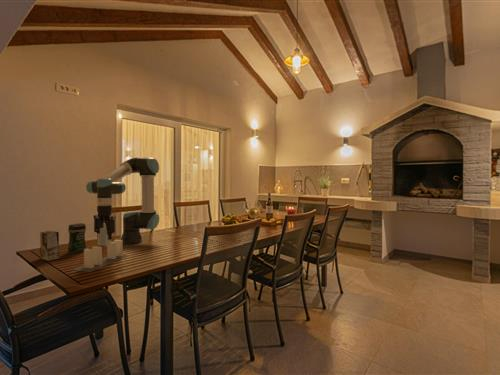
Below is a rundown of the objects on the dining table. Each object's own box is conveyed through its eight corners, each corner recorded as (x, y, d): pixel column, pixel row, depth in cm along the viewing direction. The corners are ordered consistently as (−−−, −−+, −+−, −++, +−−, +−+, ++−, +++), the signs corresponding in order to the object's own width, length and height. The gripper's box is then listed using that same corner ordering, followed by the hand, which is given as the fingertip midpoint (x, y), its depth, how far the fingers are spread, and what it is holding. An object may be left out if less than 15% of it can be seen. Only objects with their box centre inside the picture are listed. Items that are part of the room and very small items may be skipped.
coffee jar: (72, 254, 168) (72, 225, 167) (66, 252, 172) (65, 224, 171) (88, 250, 176) (88, 223, 175) (81, 248, 180) (81, 222, 179)
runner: (113, 254, 168) (113, 253, 168) (129, 256, 166) (129, 255, 165) (71, 270, 139) (71, 269, 139) (89, 272, 136) (89, 272, 136)
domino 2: (94, 263, 150) (94, 246, 149) (102, 264, 149) (101, 246, 148) (92, 264, 148) (92, 246, 148) (99, 265, 147) (99, 247, 147)
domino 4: (109, 257, 161) (109, 241, 160) (116, 258, 159) (116, 242, 159) (107, 258, 159) (107, 242, 159) (114, 259, 158) (114, 242, 157)
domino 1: (86, 266, 145) (86, 248, 144) (94, 267, 143) (94, 249, 143) (84, 267, 143) (84, 249, 143) (91, 268, 142) (91, 250, 141)
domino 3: (101, 244, 155) (101, 227, 154) (109, 245, 153) (109, 228, 153) (99, 245, 153) (99, 228, 153) (106, 245, 152) (106, 228, 152)
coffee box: (59, 258, 159) (59, 232, 159) (47, 261, 154) (46, 233, 153) (52, 255, 164) (52, 230, 163) (40, 258, 158) (39, 232, 158)
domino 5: (116, 255, 166) (115, 239, 166) (122, 255, 165) (122, 240, 164) (114, 255, 164) (114, 240, 164) (120, 256, 163) (120, 240, 163)
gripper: (86, 205, 151) (86, 245, 152) (112, 206, 147) (112, 247, 147) (96, 203, 158) (96, 242, 159) (122, 205, 154) (122, 244, 155)
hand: (104, 244), depth 153 cm, fingers closed on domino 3, 5 cm apart
